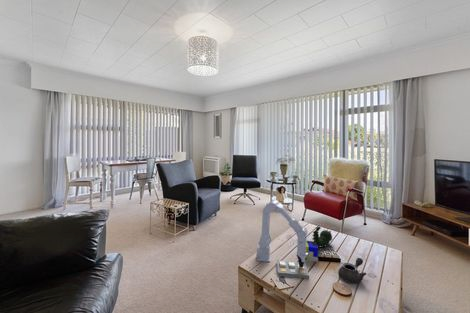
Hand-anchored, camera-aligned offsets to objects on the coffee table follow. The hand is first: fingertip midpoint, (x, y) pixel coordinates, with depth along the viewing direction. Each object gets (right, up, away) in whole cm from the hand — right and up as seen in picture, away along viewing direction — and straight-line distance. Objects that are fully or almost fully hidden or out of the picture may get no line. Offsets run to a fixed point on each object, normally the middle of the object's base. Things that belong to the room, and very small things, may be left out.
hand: (301, 266), depth 137 cm
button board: (-6, -2, 0) cm, 7 cm away
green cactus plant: (+29, -1, +34) cm, 45 cm away
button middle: (-6, 0, +1) cm, 6 cm away
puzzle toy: (+11, -2, +16) cm, 20 cm away
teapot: (+31, -3, -7) cm, 32 cm away
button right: (0, -2, 0) cm, 2 cm away
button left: (-12, 0, +2) cm, 12 cm away
